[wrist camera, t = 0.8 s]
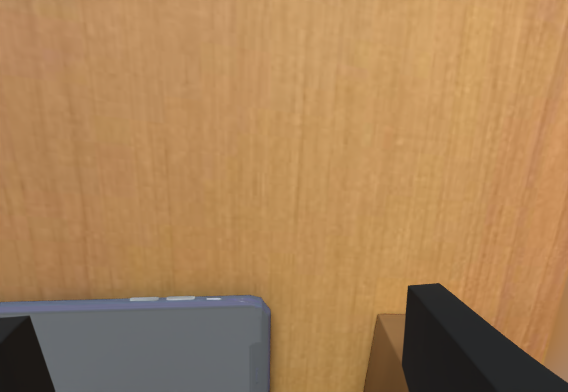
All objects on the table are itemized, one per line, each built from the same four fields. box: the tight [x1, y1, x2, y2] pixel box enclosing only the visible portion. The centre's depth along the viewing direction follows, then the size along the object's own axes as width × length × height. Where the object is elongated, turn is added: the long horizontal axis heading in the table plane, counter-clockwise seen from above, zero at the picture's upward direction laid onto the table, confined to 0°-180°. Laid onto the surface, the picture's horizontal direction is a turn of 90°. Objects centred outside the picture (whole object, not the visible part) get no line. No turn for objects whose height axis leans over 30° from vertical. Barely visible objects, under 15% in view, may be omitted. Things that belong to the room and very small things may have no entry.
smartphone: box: [0, 295, 271, 392], centre depth 21 cm, size 8×1×15 cm
